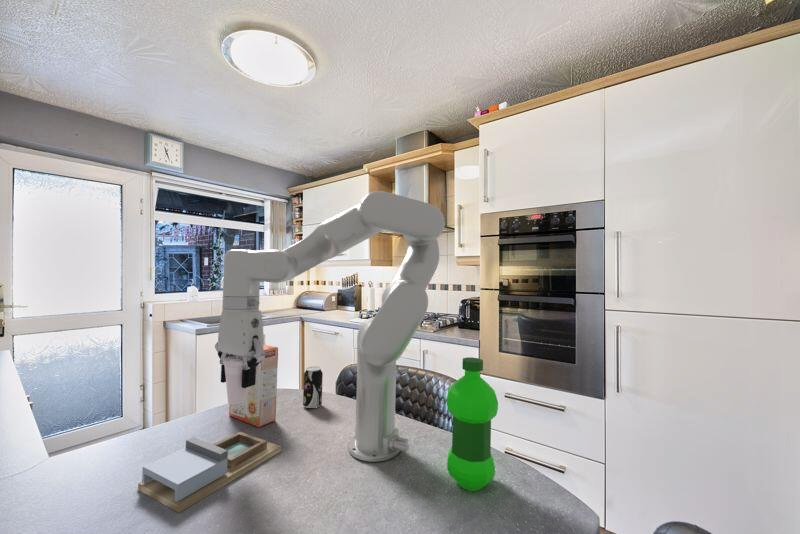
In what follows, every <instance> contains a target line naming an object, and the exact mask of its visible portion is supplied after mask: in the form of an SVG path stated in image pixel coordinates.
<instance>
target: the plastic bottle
mask: <svg viewBox="0 0 800 534" xmlns="http://www.w3.org/2000/svg"><path fill="white" fill-rule="evenodd" d="M462 370H464V375H463V376H462V377H460V378H458V380H456V381H455V382H453V383H452V384H451V385H450V386H449V388H448V391H447V393H446V394H447V396H446V406H447V411H448V412H449V413H450V415H451V416H452V437H451V438H452V440H451V442H452V444H451V447H450V449H449V450H448V453H447V459H446V461H447V463H446V465H447V467H446V469H447V471H448V475H450V477H451V478H452V479H453V480H454V481H456V483H457V484H458V486H459V487H461V488H462V489H463V490H466V491H469V492H473V491H474V492H475V491H480V490H482V489H483V488H484V487H486V486H487V485H488V484H489V483H491V481H493V480H494V477H495V475H496V466H495V461H494V457H493V454H492V452H491V448H492V447H491V445H492V444H491V443H492V442H491V440H492V420H493V419H494V418H496V416H497V414H498V411H499V410H498V409H499V401H498V398H497V394H496V391H495V389H494V388H493V387H491V385H490V384H489V383H488V382H487V381H486V380H484V378H482V377H481V372H483V371H484V360H483V359H481V358H479V357H472V356H471V357H469V356H468V357H463V358H462Z"/></svg>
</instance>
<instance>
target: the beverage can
mask: <svg viewBox="0 0 800 534" xmlns="http://www.w3.org/2000/svg"><path fill="white" fill-rule="evenodd" d="M302 394H303V396H302V397H303V398H302V406H303V407H304V408H305V409H307V408H315V409H317V408H316V407H318V408H319V407H320V406H321V405H322V404H323V402H322V401H323V371H322V369H321V367H320V366H309V367H306V368H305V371H304V373H303V393H302Z"/></svg>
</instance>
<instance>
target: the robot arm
mask: <svg viewBox="0 0 800 534" xmlns="http://www.w3.org/2000/svg"><path fill="white" fill-rule="evenodd" d="M445 225H446V221H445V216H444V214H443V212H442V211H441V210H440V208H438V207H437V206H435V205H433V204H431V203H428V202H425V201H421V200H418V199H414V198H411V197H407V196H403V195H399V194H396V193H392V192H388V191H383V190H374V191H370V192H368V193H367V194H366V195H365V196H363V197H362V199H361V202H360V203H357V204H356V205H354V206H352V207H349V208H348V209H346V210H344V211H342V212H340V213H338V214H336V215H334V216H332V217H330V218H328V219H326V220H324V221H323V222H321V223H320V224H319V225H317V226H316V228H315V229H314V230H313V231H312V232H311V233H309V235H308V236H306V237H304V238H303V239H301V240H300V241H298V242H296V243H295V244H292V245H290V246H289V247H286V248H285V249H282V250H281V249H267V250H266V249H265V250H251V249H229V250H227V251H226V252H225V253H224V259H223V263H224V264H223V283H222V289H223V290H222V307H221V308H222V309H221V313H220V318H219V325H218V327H219V328H218V336H217V342H216V343H215V344H214V348H215V350H216V352H217V356H218V358H219V364H220V365H221V367H220V383H226V376H225V366H224V365H223V359H224V358H226V357H230V356H235V355H236V356H241V357H242V360H243V364H244V368H245V369H243V370H242V385H241V386H242V388H247V387H250V386H253V385H255V382H256V367H258V364H259V363H260V362H261V360H262V359H263V358H264V356H265V355H266V353H265V351H264V349H263V345H265V343H264V342H265V341H264V340H265V339H264V323H263V322H264V321H263V315H262V311H261V310H260V289H261V285H260V284H261V282H266V283H272V284H278V283H283V282H288V281H291V280H292V279H295V278H297V276H300V275H302V274H304V273H306V272H307V271H309V270H311V269H313V268H315V267H316V266H318V265H320V264H322V263H323V262H326V261H328V260H330V259H333V258H335V257H337V256H339V255H340V254H342V253H344V252H346V251H348V250H349V249H351V248H353V247H355V246H357V245H358V244H360V243H363V242H365V241H366V240H368V239H370V238H372V237H374V236H376V235H377V234H380V233H382V232H383V231H388V232H391V233H395V234H399V235H402V237H403V238H404V240H405V243H406V254H405V256H404V258H403V260H402V262H400V263H401V264H400V266H399V268H398V269H397V270H396V272H395V274H394V275H393V277H392V279H391V280H390V282H389V283H388V284H387V286H386V287H385V288H384V291H383V293H382V296H381V306H380V308H379V310H378V311H377V312H376V315H374V316H372V317H369V318H367V319H366V320H364V321H363V322H362V324H361V325H360V327H359V328H358V331H357V335H356V364H357V365H356V371H357V372H356V397H355V398H356V399H355V403H356V404H355V428H354V429H355V431H354V433H355V434H354V435H355V436H353V437H352V438H351V439H350V440H349V442H348V452H349V454H350V455H351V456H352V457H354V458H355V459H357V460H360V461H363V462H371V463H372V462H373V463H374V462H375V463H376V462H378V463H379V462H385V461H388V460H390V459H393V458H394V457H395V456H397V455H398V454H399V453H400V452H403V453H405V454H407V453H408V451H409V448H410V445H409V439H408V438H406V437H401V436H400V435H399V428H395V427H396V425H395V424H396V422H395V421H396V393H397V392H396V391H397V390H396V389H397V387H396V386H397V361H398V360H399V359H400V358H401V357H402V355H403V354H404V352H405V351H406V349H407V347H408V346H409V344H410V342H411V340H412V339H413V337H414V336H415V334H416V332H417V331H418V329H419V327H420V325H421V324H422V321H423V320H424V318H425V316H426V314H427V311H428V306H429V296H428V294H427V288H428V286H429V284H430V282H431V281H432V279H433V277H434V275H435V273H436V270H437V268H438V265H439V264H440V263H439V262H440V247H439V243H438V238H439V237H440V236H441V235H442V234H443V232H444V230H445V227H446V226H445ZM249 352H250V353H251V354H249ZM249 357H251V360H250V362H249V360H248V358H249Z"/></svg>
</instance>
